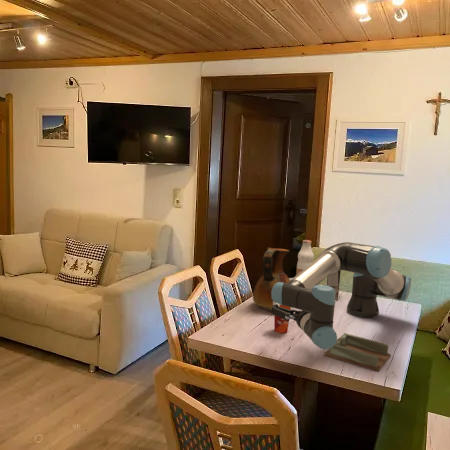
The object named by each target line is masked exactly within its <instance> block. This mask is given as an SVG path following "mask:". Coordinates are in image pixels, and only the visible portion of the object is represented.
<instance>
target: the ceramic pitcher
mask: <svg viewBox="0 0 450 450" xmlns="http://www.w3.org/2000/svg"><path fill="white" fill-rule="evenodd" d="M266 249H267V250H266V251H265V252H264V254H263V257H262V272H263V274H262V275H261V276H260V277H259V279H258V280H257V282H256V284H255V287H254V289H253V292H252V300H253V303H254V304H256V305H257V306H259V307H262V308H264V309H266V310H270V311H271V308H272V307H273V300H272V295H271V292H272V288H273V286H274V285H275V284H276V283H277V282H282V283H283V282H284V283H288V282H289V281H290V280H289V278H290V277H288V275H287V274H286V273H285V272H284V269H283V262H284V259H285V256H286V255H287V254H288V253H289V252H290V250H289V249H284V248H273V247H266Z"/></svg>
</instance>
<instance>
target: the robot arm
mask: <svg viewBox="0 0 450 450" xmlns="http://www.w3.org/2000/svg"><path fill="white" fill-rule="evenodd" d="M391 256H392V255H391V252H390V251H389V250H388V249H387V248H385V247H382V246H378V245H376V246H375V245H370V244H369V245H368V244H361V243H356V242H355V243H354V242H346V241H345V242H340V243H336V244H333V245H331V246H329V247H327V248H325V249H324V250H322V251H321V252H320V253H319V255H318V257H317V258H316V259H315V260H313V263H311V264H310V265H309V266H308V267H306V268H305V269H304V270H303V271H301V272H300V273H299V274H298V275H296V274H295V276H294V277H292V278H293V279H291V280H290V281H289V282H288V283H284V282H283V283H282V282H277V283H276V284H275V285H274V286H273V288H272V292H271V295H272V300H273V307H272V308H271V310H270V313H271V315H276V316H278V317H280V318H283V319H285V320H286V321H289V322H290V320H293V321H295V322H296V324H297V327H298V328H299V329H300V330H301V331H302V332H303V333H304V334H305V335H306V336H307V337H308V338H309V340H311V342H312V343H313V344H314V345H315V346H316V347H317V348H320V349H321V350H328V349H329V348H331V347H333V346H334V345H335V343H336V341H337V339H338V334H337V332H336V331H335V329H334V316H335V308H336V300H335V290H334V289H333V288H332V287H330V286H327V284H326V285H323V284H321V283H322V282H323V281H324V280H325V279H327V276H328V275H329V274H330V273H335V272H337V271H338V270H341V271H345V272H348V273H349V272H350V273H353V276H352V289H351V296H350V299H349V301H348V304H347V305H346V312H347V313H348V314H349V315H352V316H355V317H359V318H365V319H367V318H368V319H373V318H377V317H378V316H380V315H379V314H380V309H379V305H378V301H377V300H378V299H377V298H378V297H379V296H380V297H383V298H388V299H393V300H397V301H400V302H401V301H403V302H406V301H407V300H408V297H409V295H410V293H411V292H410V291H411V286H412V278H411V276H407V275H404V274H403V275H402V274H401V273H400V272H399V271H397V270H395V269H392V268H391V267H392V257H391ZM279 304H281V305H284V306H288V307H291V310H289V309H286V308H282V307H280V305H279ZM292 308H293V309H292Z"/></svg>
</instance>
